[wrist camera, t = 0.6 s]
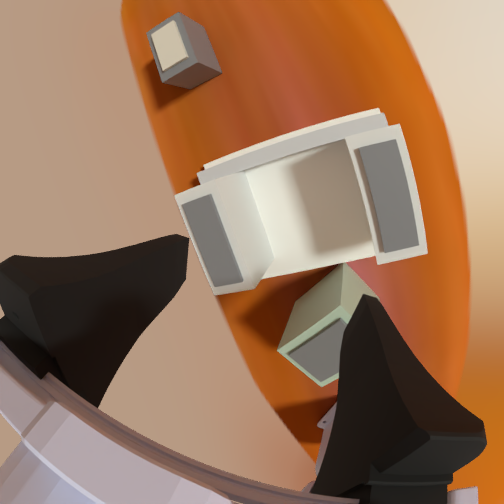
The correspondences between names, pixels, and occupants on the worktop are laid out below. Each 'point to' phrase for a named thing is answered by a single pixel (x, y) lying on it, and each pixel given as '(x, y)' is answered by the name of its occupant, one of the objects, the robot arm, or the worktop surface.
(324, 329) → the green module
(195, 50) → the block
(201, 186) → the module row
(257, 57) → the worktop surface
